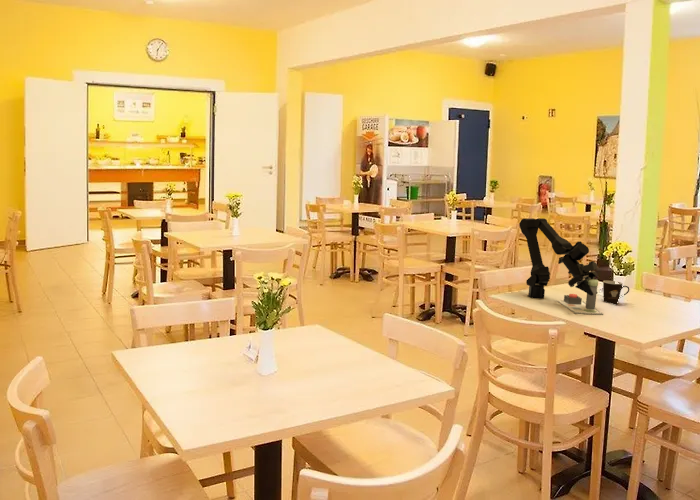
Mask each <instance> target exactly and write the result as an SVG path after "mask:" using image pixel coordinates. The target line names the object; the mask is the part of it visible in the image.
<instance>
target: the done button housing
mask: <svg viewBox="0 0 700 500" xmlns="http://www.w3.org/2000/svg"><path fill="white" fill-rule="evenodd" d="M563 301H564V302H566V303H568V304H581V302H583V301H582V297H580V296H579V295H577V298H570V297H569V294H564V295H563Z"/></svg>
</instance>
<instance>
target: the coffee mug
mask: <svg viewBox="0 0 700 500" xmlns="http://www.w3.org/2000/svg"><path fill="white" fill-rule="evenodd" d="M617 282H618V283H619V284H615V280H603V282H602V284H603V285H602V287H603V289H602V291H603V294H602V295H603V297H602V298H603V303H608V304H612V305H614V304H617V302H618V303H619V301H618V299H619V300H620V298H619V297H620V296H621V292H622V289H623V288H627V291H626V292H625V293H624V296H625V295H627V294H628V293H630V287H629V286H627V285H623V283H622V282H621V281H617ZM622 286H623V287H622ZM617 305H618V304H617Z"/></svg>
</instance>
